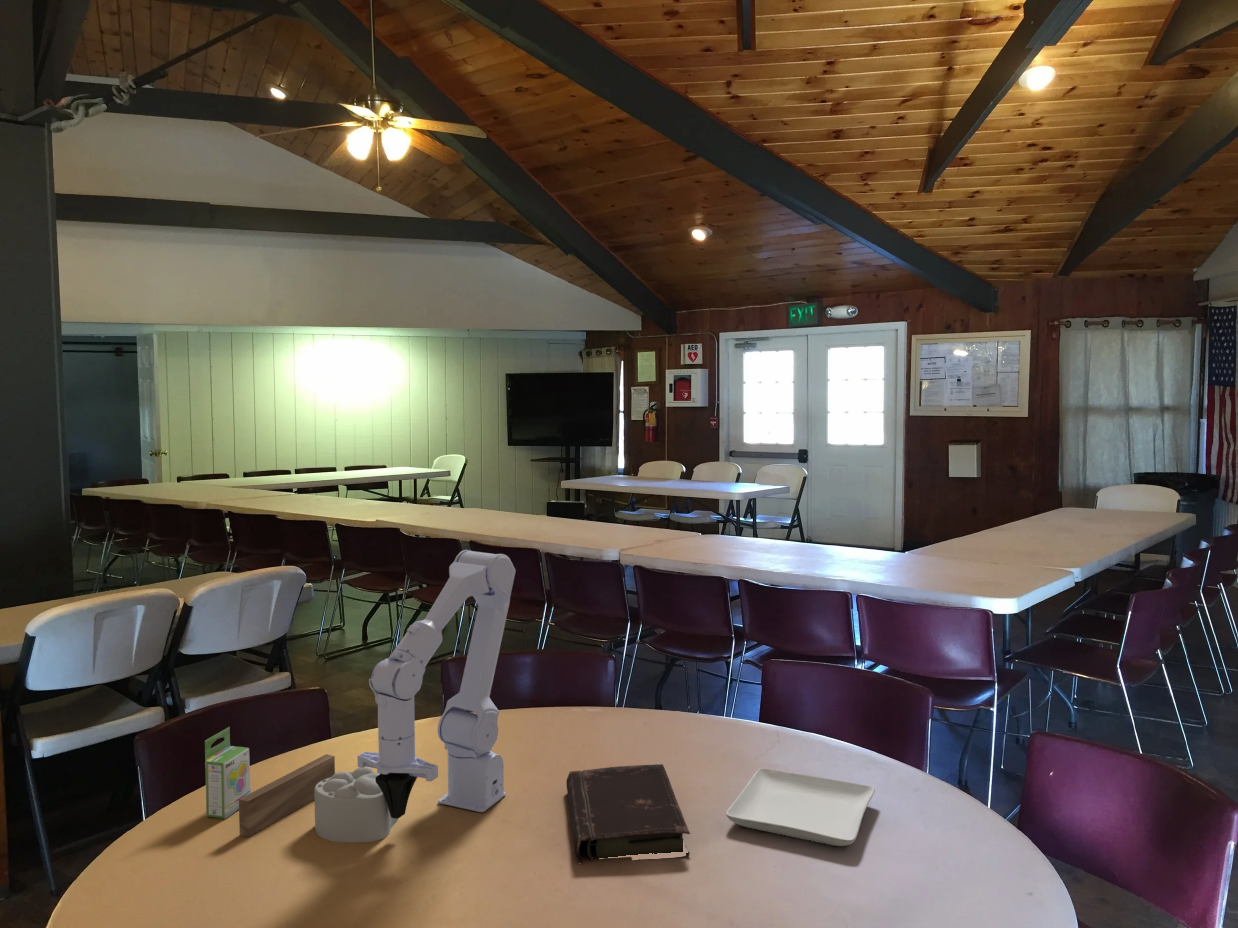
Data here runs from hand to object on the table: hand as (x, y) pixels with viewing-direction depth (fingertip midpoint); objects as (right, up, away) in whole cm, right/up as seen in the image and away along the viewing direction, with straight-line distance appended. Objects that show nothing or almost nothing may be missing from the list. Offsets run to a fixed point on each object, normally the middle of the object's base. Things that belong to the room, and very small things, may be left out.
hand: (398, 815), depth 139 cm
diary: (+37, -4, +5) cm, 38 cm away
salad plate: (+67, -4, +7) cm, 68 cm away
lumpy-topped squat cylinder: (-8, -4, +4) cm, 9 cm away
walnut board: (-21, -3, +9) cm, 23 cm away
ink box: (-32, -3, +10) cm, 33 cm away
